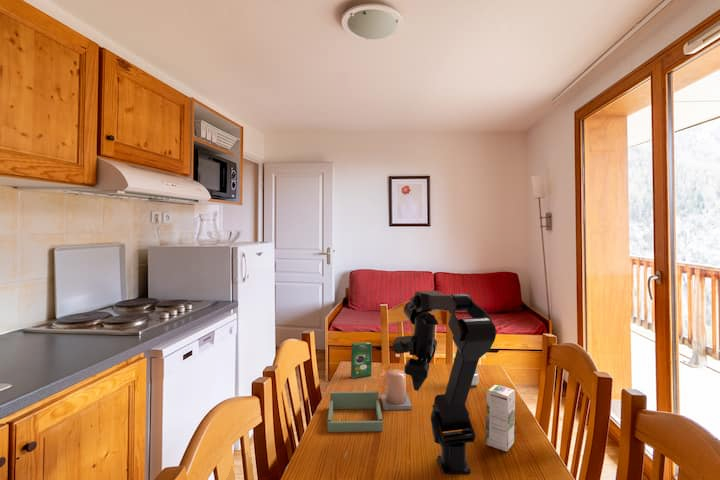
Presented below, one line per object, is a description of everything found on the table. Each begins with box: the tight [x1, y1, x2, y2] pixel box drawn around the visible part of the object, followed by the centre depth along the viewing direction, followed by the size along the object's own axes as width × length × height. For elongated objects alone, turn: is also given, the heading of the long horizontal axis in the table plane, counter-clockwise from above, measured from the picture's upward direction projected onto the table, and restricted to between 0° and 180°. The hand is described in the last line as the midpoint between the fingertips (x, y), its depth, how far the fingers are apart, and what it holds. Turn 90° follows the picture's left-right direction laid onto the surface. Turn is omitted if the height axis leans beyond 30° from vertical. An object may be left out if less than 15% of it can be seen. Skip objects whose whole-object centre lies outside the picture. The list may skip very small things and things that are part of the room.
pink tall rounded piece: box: [385, 368, 407, 404], centre depth 124 cm, size 6×6×9 cm
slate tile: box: [380, 393, 413, 411], centre depth 125 cm, size 9×9×1 cm
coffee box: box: [350, 341, 373, 379], centre depth 150 cm, size 8×3×13 cm, turn 113°
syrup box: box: [485, 384, 516, 452], centre depth 100 cm, size 6×6×14 cm
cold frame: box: [327, 391, 384, 433], centre depth 114 cm, size 16×16×5 cm
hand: (419, 381), depth 111 cm, fingers open, 9 cm apart
